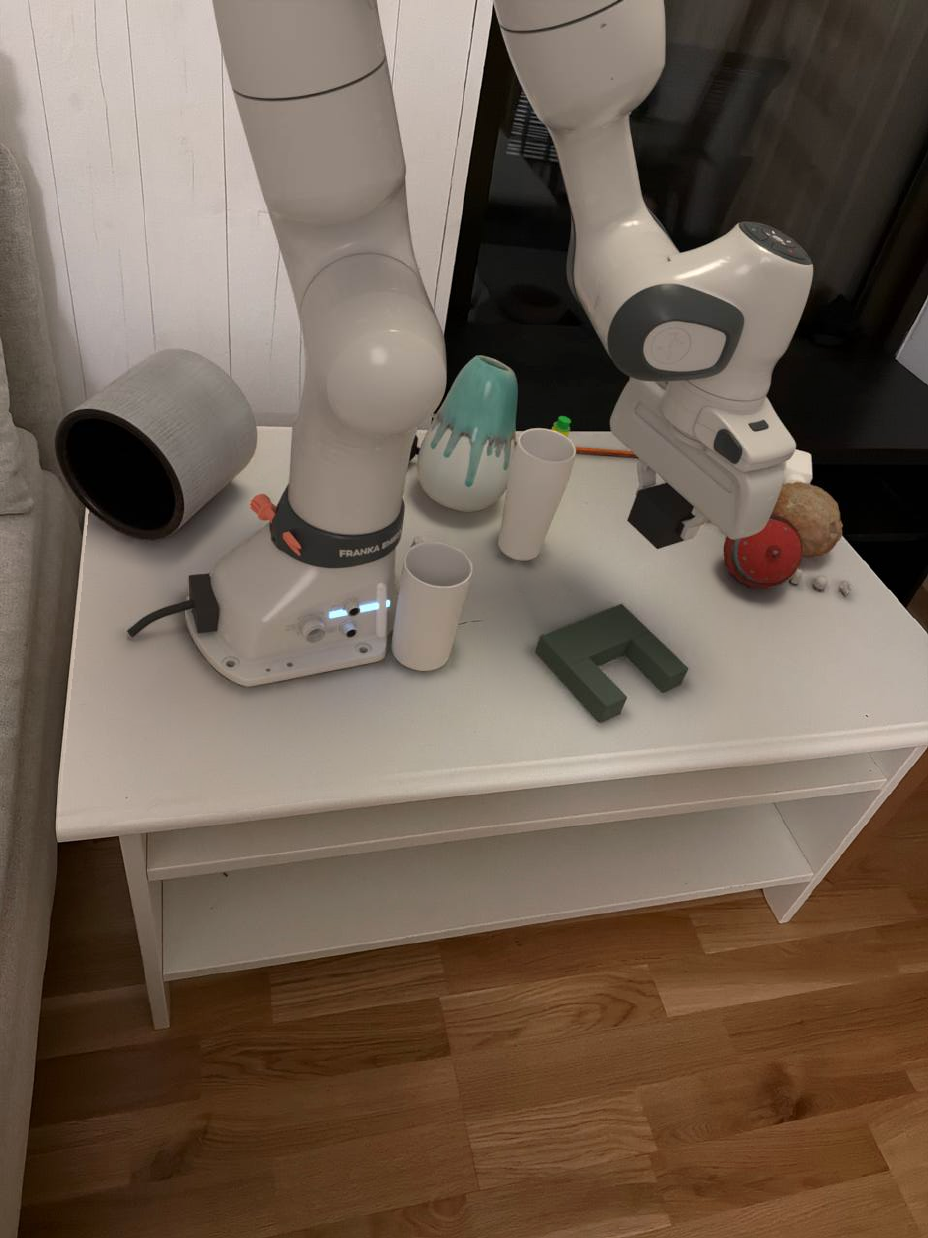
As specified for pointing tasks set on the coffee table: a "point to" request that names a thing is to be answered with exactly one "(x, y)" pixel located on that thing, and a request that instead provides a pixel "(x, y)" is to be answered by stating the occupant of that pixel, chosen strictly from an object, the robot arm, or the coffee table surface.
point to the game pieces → (820, 581)
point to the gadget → (765, 554)
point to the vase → (471, 438)
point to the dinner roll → (811, 516)
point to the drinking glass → (534, 491)
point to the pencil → (605, 451)
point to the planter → (157, 443)
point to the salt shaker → (798, 468)
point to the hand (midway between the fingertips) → (664, 517)
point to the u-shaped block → (607, 658)
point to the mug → (429, 604)
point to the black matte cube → (659, 514)
